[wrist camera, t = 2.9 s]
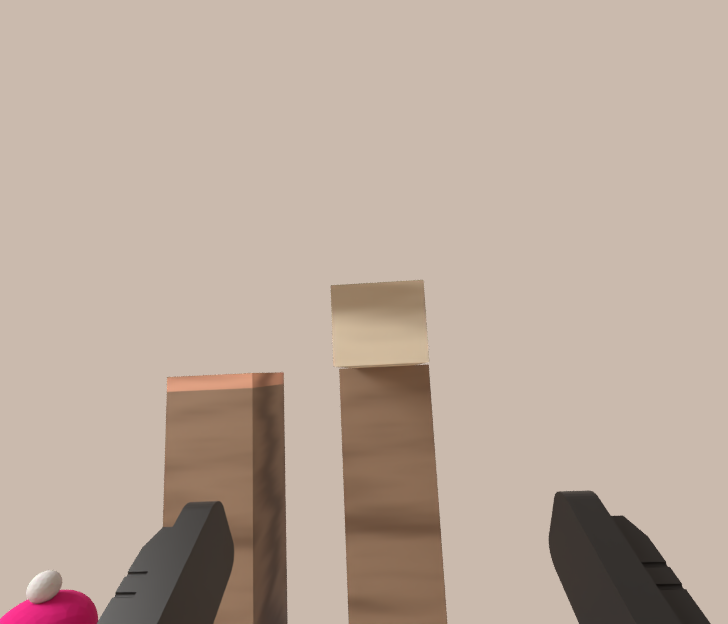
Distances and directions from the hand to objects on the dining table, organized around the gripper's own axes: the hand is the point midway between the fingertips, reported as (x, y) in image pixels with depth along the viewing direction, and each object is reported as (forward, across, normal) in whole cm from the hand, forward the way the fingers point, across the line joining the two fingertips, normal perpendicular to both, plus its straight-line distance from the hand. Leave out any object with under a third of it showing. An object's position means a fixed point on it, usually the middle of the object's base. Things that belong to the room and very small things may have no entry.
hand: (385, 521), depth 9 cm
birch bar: (+18, 0, +6) cm, 19 cm away
